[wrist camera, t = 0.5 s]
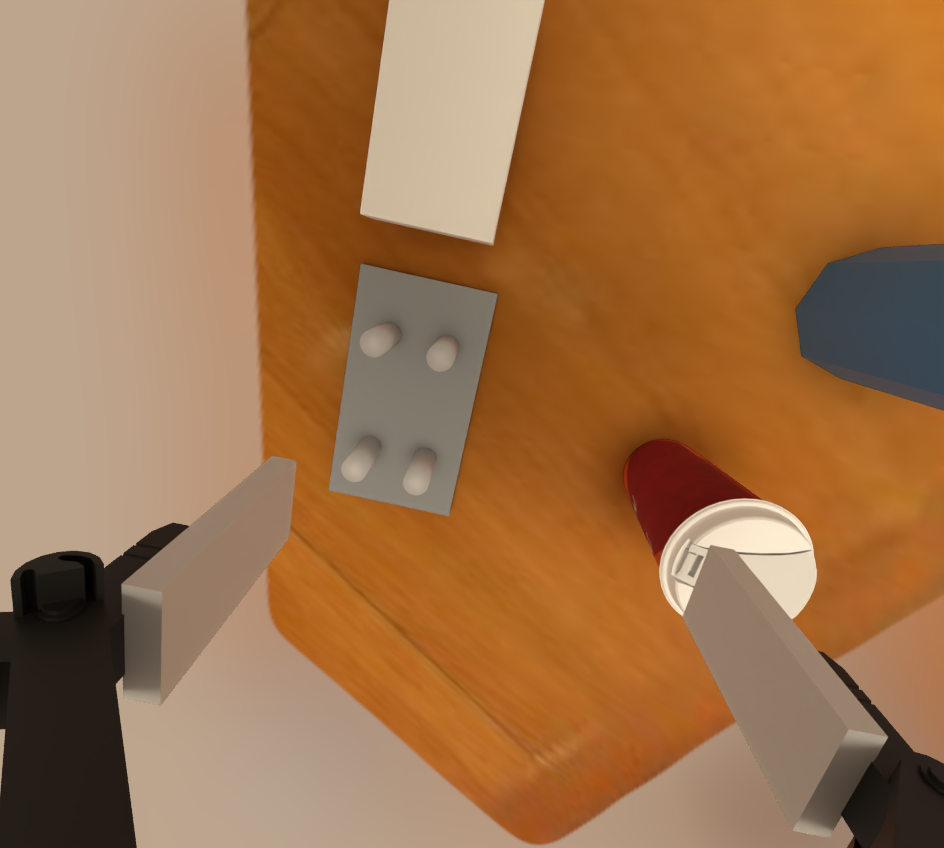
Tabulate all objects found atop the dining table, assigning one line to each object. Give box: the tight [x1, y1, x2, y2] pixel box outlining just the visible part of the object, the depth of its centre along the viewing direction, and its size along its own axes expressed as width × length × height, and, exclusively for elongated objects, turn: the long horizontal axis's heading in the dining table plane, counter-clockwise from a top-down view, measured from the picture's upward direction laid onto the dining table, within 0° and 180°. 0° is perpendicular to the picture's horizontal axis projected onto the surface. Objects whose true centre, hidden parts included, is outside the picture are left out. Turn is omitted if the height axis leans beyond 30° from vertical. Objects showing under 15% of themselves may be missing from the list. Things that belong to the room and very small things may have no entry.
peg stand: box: [329, 264, 498, 516], centre depth 37 cm, size 18×10×6 cm, turn 168°
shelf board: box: [360, 0, 545, 246], centre depth 30 cm, size 14×8×3 cm, turn 168°
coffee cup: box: [623, 439, 817, 619], centre depth 34 cm, size 8×8×15 cm
